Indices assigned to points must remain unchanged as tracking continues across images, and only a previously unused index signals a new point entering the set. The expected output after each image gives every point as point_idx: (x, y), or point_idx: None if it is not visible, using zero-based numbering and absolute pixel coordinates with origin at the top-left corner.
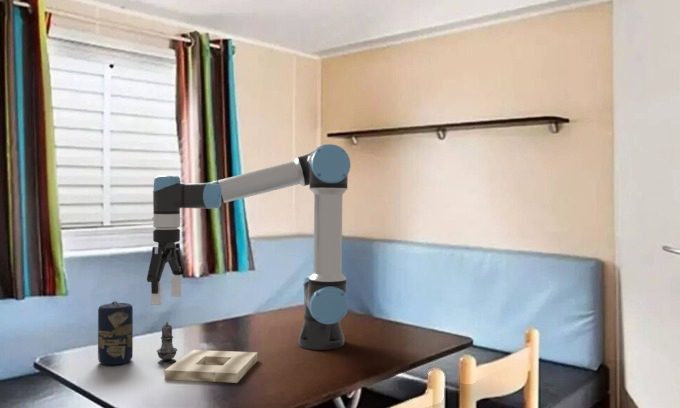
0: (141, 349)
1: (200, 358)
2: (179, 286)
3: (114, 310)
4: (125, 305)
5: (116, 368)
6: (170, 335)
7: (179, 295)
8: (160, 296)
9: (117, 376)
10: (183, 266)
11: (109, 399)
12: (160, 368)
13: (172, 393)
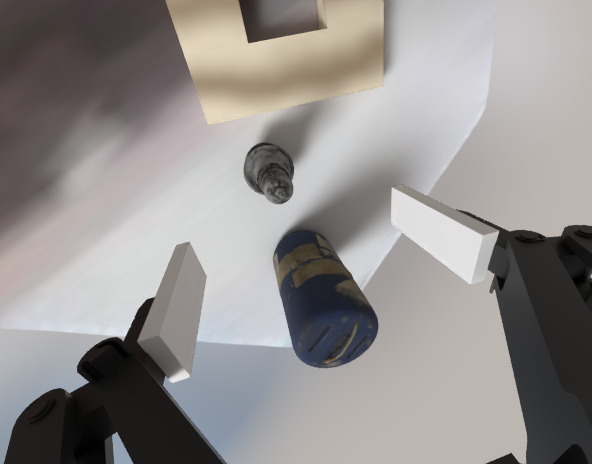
0: (211, 272)
1: (273, 44)
2: (178, 276)
3: (374, 312)
4: (340, 321)
5: (330, 226)
6: (277, 168)
7: (188, 246)
8: (425, 198)
9: (369, 192)
10: (5, 458)
11: (473, 119)
12: (308, 148)
13: (451, 3)
